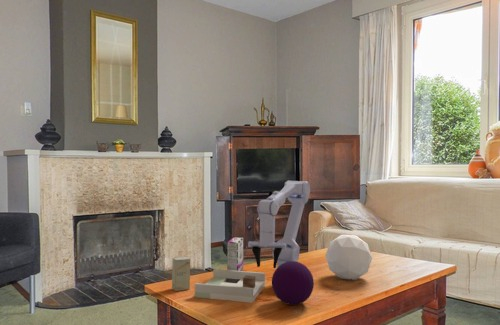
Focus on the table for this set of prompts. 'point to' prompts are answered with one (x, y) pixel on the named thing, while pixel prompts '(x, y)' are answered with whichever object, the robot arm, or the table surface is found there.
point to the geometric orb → (348, 257)
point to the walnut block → (249, 281)
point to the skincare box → (181, 273)
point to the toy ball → (292, 283)
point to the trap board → (230, 286)
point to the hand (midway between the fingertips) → (266, 267)
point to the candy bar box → (235, 254)
